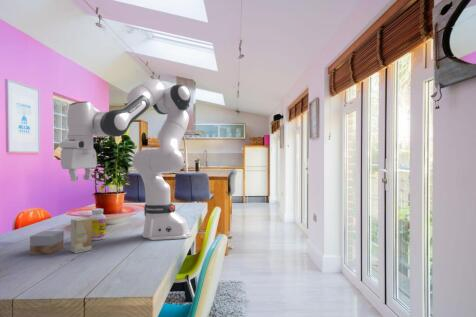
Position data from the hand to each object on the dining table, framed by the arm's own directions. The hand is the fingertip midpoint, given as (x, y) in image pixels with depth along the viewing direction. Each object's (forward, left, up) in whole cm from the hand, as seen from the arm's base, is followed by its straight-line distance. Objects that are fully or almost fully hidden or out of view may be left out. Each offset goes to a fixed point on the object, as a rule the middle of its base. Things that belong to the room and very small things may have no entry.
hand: (80, 180), depth 121 cm
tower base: (+13, 0, -27) cm, 30 cm away
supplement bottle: (+2, -18, -27) cm, 32 cm away
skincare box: (0, 0, -27) cm, 27 cm away
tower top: (+13, 0, -24) cm, 27 cm away
